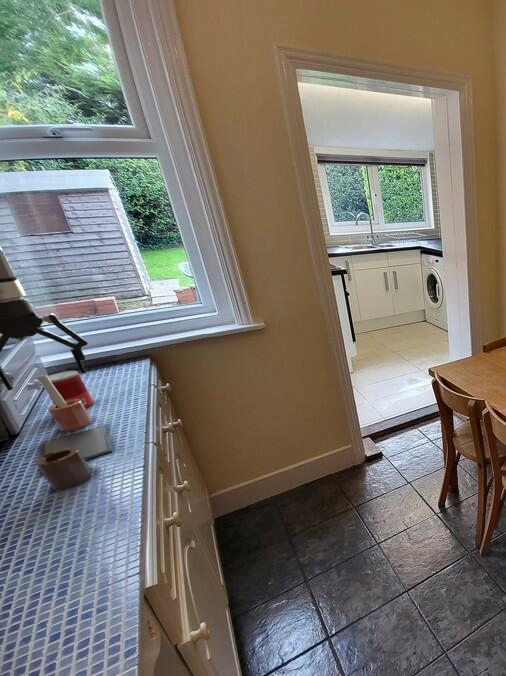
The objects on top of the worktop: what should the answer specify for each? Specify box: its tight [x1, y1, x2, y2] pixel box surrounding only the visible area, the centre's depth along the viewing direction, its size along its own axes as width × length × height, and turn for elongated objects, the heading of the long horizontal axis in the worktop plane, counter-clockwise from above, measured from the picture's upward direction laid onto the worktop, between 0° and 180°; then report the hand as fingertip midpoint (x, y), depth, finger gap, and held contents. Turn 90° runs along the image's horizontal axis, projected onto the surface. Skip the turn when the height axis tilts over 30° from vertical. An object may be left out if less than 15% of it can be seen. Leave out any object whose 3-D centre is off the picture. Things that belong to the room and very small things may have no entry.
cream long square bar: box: [37, 374, 68, 408], centre depth 112 cm, size 2×2×15 cm
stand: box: [35, 447, 94, 491], centre depth 89 cm, size 6×6×7 cm
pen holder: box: [47, 399, 93, 432], centre depth 113 cm, size 6×6×7 cm
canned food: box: [46, 370, 94, 409], centre depth 123 cm, size 8×8×11 cm
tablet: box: [40, 424, 113, 477], centre depth 103 cm, size 20×12×1 cm, turn 47°
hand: (49, 380), depth 108 cm, fingers open, 13 cm apart
